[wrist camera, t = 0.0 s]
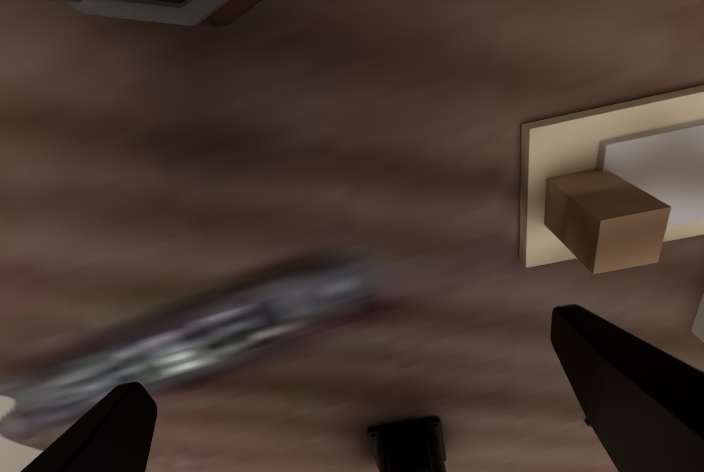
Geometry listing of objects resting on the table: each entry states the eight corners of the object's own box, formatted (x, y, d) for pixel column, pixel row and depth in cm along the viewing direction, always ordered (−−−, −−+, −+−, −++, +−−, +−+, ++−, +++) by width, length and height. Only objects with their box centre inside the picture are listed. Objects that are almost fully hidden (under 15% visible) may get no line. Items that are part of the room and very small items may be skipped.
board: (776, 209, 24) (793, 217, 23) (519, 259, 25) (525, 267, 24) (839, 55, 19) (863, 57, 18) (521, 124, 20) (529, 129, 20)
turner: (761, 203, 22) (863, 248, 18) (542, 245, 23) (589, 297, 19) (800, 99, 19) (934, 124, 15) (548, 152, 20) (605, 190, 16)
